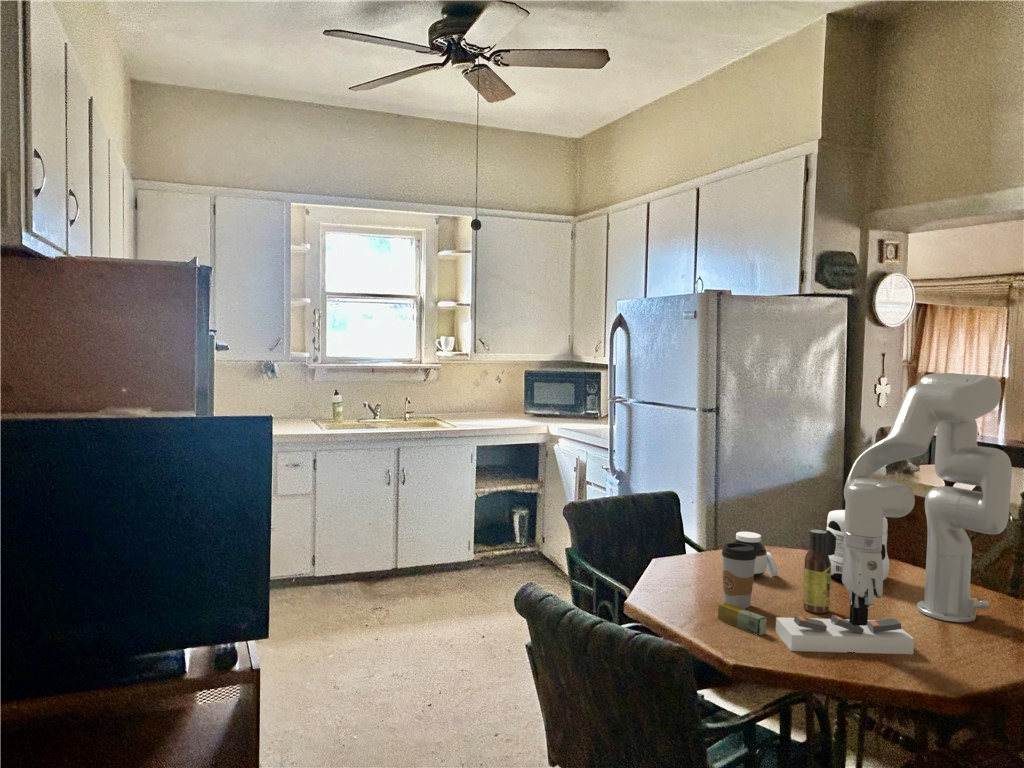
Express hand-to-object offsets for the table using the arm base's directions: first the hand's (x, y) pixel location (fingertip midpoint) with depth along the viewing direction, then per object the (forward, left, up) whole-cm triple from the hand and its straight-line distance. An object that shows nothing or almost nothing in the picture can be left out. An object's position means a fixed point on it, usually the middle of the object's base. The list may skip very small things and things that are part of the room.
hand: (858, 623), depth 158 cm
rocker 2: (-6, 0, 0) cm, 6 cm away
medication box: (+22, -11, -6) cm, 25 cm away
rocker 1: (+10, 0, 0) cm, 10 cm away
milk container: (-21, -48, -6) cm, 53 cm away
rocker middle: (+2, 0, 0) cm, 2 cm away
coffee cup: (+19, -24, -6) cm, 32 cm away
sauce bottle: (0, -22, -6) cm, 23 cm away
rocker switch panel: (+2, -2, -5) cm, 6 cm away
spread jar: (+7, -49, -6) cm, 50 cm away
